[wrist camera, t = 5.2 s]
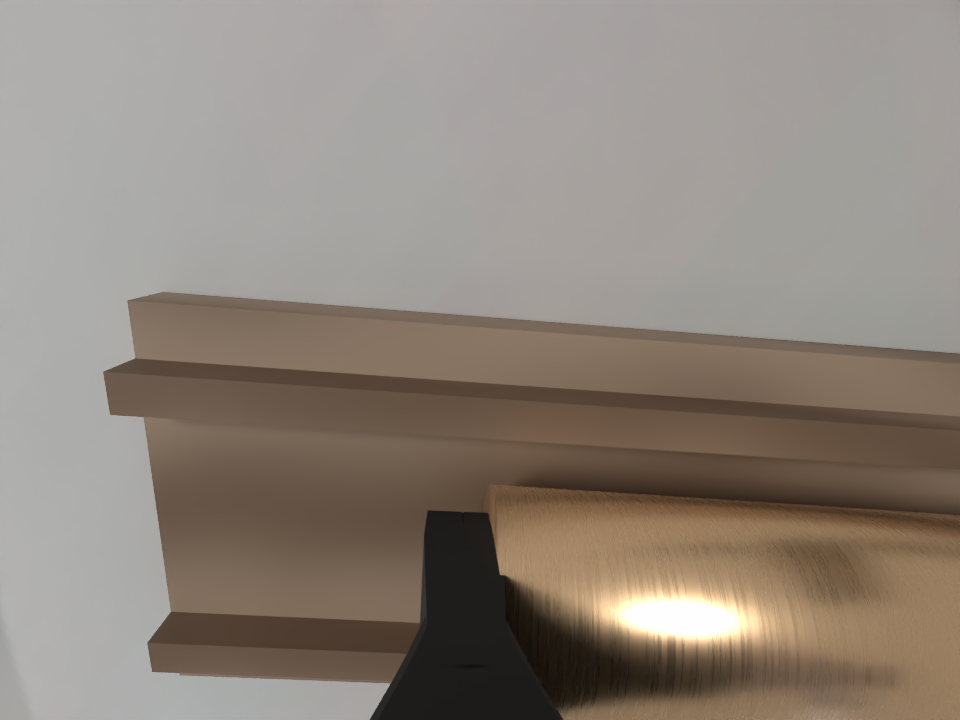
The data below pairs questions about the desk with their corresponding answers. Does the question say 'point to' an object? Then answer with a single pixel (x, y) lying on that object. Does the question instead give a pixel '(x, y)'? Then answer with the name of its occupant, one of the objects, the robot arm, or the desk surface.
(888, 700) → the thermos bottle
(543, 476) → the board
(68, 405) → the desk surface
